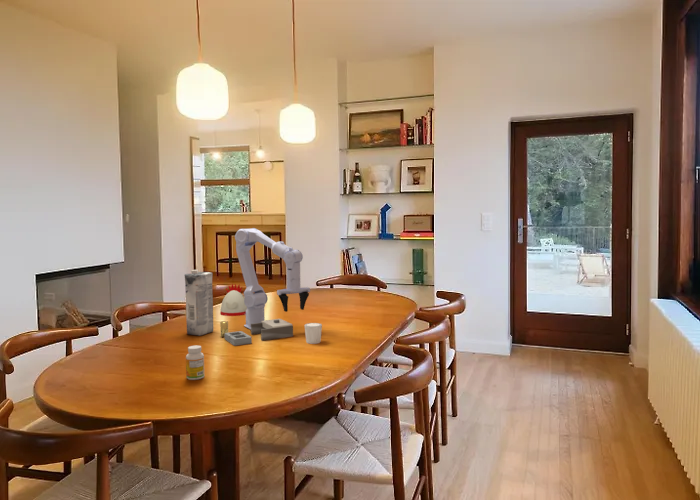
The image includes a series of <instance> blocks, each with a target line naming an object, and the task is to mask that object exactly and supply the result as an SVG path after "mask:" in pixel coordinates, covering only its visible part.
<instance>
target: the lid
mask: <svg viewBox="0 0 700 500" xmlns="http://www.w3.org/2000/svg"><path fill="white" fill-rule="evenodd" d="M261 322H262V324H263V327H264V328H266V329H268V328H278V327H285V326H293V323H290V322H289V321H286V320H284V319H282V318H275V319H265V321H261Z"/></svg>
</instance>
